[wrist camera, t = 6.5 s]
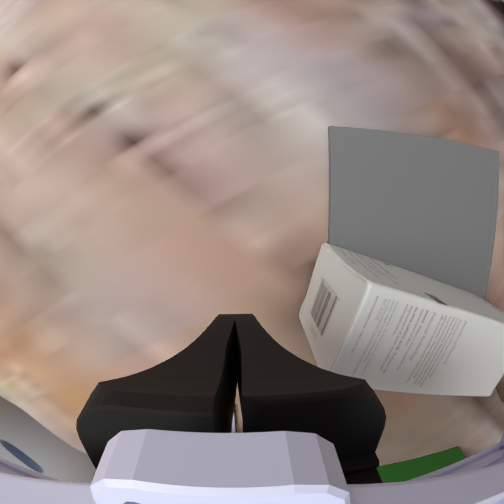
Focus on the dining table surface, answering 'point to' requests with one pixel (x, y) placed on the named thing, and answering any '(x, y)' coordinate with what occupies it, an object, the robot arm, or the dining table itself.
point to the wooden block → (501, 388)
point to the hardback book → (419, 466)
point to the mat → (415, 203)
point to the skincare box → (400, 328)
